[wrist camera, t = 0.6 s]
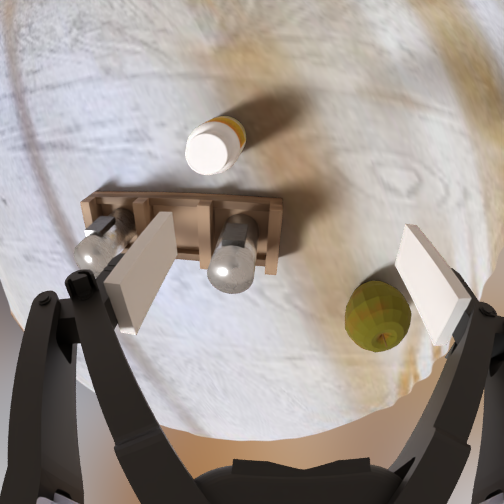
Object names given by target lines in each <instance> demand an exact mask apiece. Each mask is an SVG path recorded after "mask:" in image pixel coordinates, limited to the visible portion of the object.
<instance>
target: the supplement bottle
mask: <svg viewBox="0 0 504 504" xmlns="http://www.w3.org/2000/svg"><path fill="white" fill-rule="evenodd" d="M245 143H246V133H245V130H244V127H243V126H242V124H241V123H240V122H239V121H237V120H236V119H234V118H232V117H229V116H219V117H216V118H213V119H211V120H209V121H207V122H205V123H203V124H201V125H200V126H198V127H197V128H196V129H194V130H193V131H192V133H191V134H190V136H189V138H188V141H187V146H186V151H185V156H186V160H187V163H188V165H189V166H190V167H191V168H192V169H193V170H194V171H195V172H197V173H199V174H203V175H212V174H216V173H221V172H224V171H226V170H228V169H229V168H230V167H232V166H233V165H234V163H235V162H236V161H237V159H238V157H239V155H240V154H241V152H242V150H243V148H244V146H245Z"/></svg>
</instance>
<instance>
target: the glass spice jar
mask: <svg viewBox="0 0 504 504" xmlns="http://www.w3.org/2000/svg"><path fill="white" fill-rule="evenodd" d="M136 233H137V231H136V225H135V218H134V214H133V213H132V212H131V211H130V210H128V209H125V208H118V209H116V210H114V211H113V212H112V213H111V214H110V215H109V216H100V217H98V218H97V219H96V220H95V221H94V222H93V223H92V224H91V225H90V226H89V227H87V228H86V229H85V234H86V237H85V238H84V239H83V240H82V241H81V242H80V243H79V244H78V245H77V246H76V248H75V250H74V259H75V262H76V264H77V266H78V267H79V268H80V270H82V269H88V270H91V271H92V272H93V273H94V276H95V278H97V277H98V276H99V274H100V273H101V272H102V271H103V269H104V268H105V267H106V266H107V264H108V263H109V262H110V261H111V259H112V258H114V257H115V256H117V255H118V254H120V253H121V252H122V251H123V249H124V248H125V247H126V246H127V244H128V243H129V242H130V241H131V240H132V238H133V237H134V236H135V235H136Z"/></svg>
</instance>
